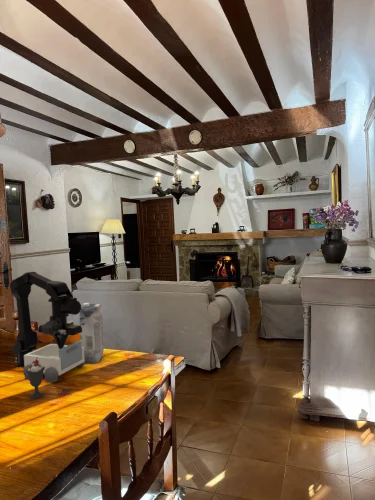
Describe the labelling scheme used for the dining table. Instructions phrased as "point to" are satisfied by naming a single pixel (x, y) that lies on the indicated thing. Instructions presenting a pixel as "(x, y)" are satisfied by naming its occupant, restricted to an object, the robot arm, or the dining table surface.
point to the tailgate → (70, 354)
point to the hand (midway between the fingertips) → (61, 349)
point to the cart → (50, 362)
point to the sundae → (35, 377)
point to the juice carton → (91, 332)
